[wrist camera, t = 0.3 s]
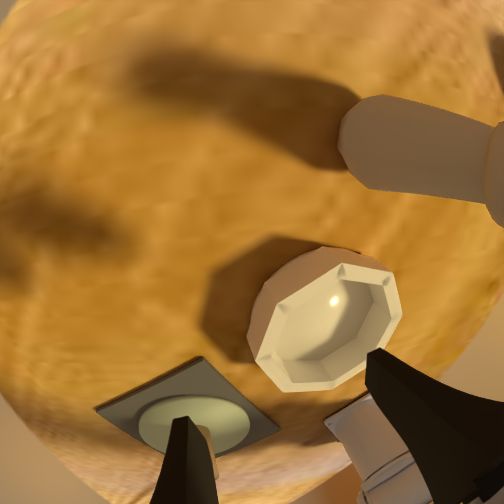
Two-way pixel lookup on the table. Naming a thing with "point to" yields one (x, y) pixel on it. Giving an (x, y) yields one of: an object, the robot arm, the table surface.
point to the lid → (196, 422)
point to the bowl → (322, 318)
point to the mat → (186, 383)
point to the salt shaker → (424, 151)
